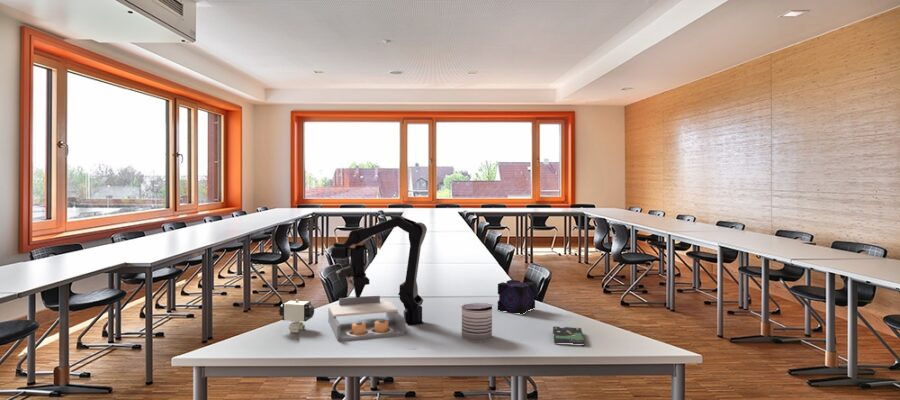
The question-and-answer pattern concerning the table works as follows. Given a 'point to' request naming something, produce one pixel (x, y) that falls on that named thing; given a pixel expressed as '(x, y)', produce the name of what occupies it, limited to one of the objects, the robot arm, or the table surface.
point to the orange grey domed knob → (359, 328)
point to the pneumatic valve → (296, 313)
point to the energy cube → (516, 296)
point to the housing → (367, 328)
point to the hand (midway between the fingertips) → (357, 298)
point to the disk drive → (568, 335)
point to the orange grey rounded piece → (381, 326)
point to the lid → (361, 306)
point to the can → (477, 322)
